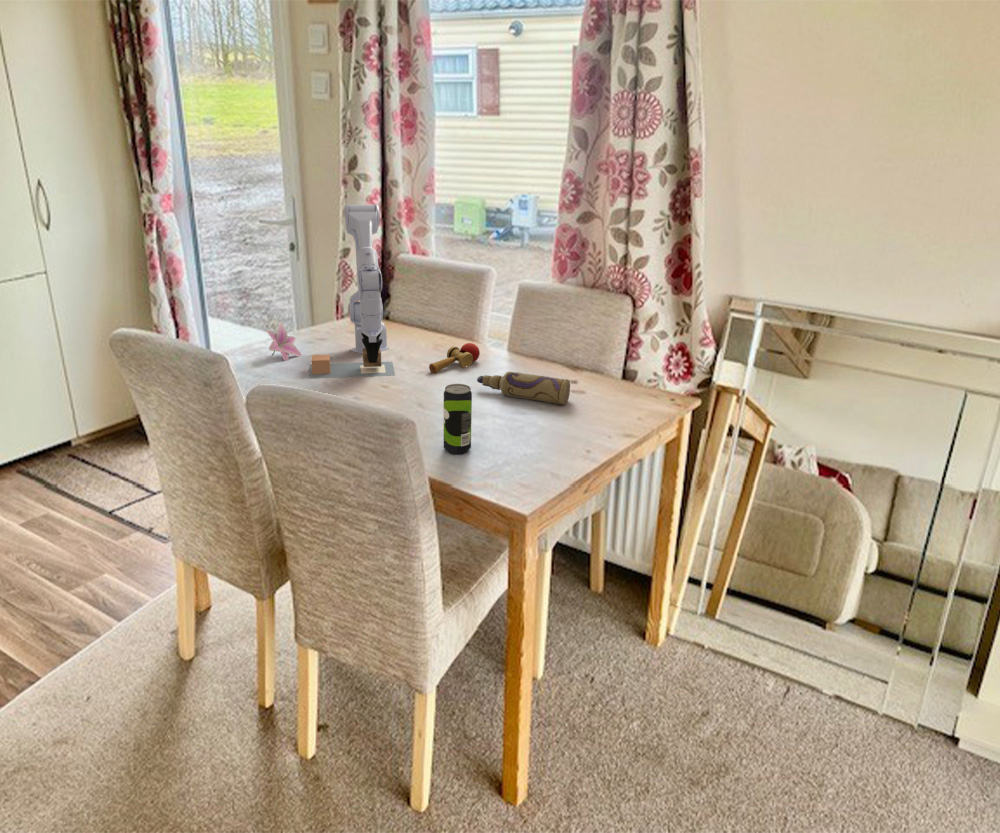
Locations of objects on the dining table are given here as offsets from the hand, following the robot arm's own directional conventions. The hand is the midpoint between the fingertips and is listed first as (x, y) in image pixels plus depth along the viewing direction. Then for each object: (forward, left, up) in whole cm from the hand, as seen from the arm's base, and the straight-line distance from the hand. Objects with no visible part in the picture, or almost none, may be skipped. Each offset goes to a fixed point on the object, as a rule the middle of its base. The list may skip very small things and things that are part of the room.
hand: (372, 359), depth 224 cm
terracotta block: (+11, -10, -3) cm, 15 cm away
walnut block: (0, 0, -1) cm, 1 cm away
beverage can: (+25, +53, -4) cm, 59 cm away
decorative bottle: (-13, +45, -4) cm, 47 cm away
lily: (+10, -28, -4) cm, 29 cm away
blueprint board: (+4, -4, -3) cm, 7 cm away
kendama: (-18, +16, -4) cm, 24 cm away
